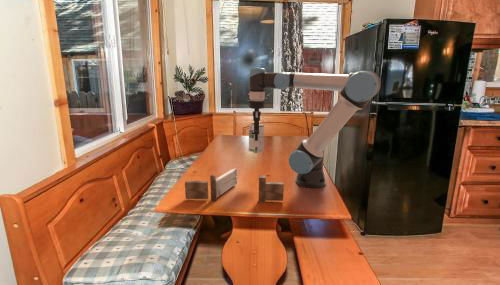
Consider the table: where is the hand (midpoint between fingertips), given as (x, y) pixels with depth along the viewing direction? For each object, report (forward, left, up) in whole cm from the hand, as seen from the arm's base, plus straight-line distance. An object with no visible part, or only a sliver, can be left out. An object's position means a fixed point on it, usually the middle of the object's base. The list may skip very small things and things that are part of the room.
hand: (256, 144), depth 150 cm
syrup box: (0, 0, -4) cm, 4 cm away
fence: (+9, +24, -20) cm, 33 cm away
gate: (+14, +14, -19) cm, 28 cm away
